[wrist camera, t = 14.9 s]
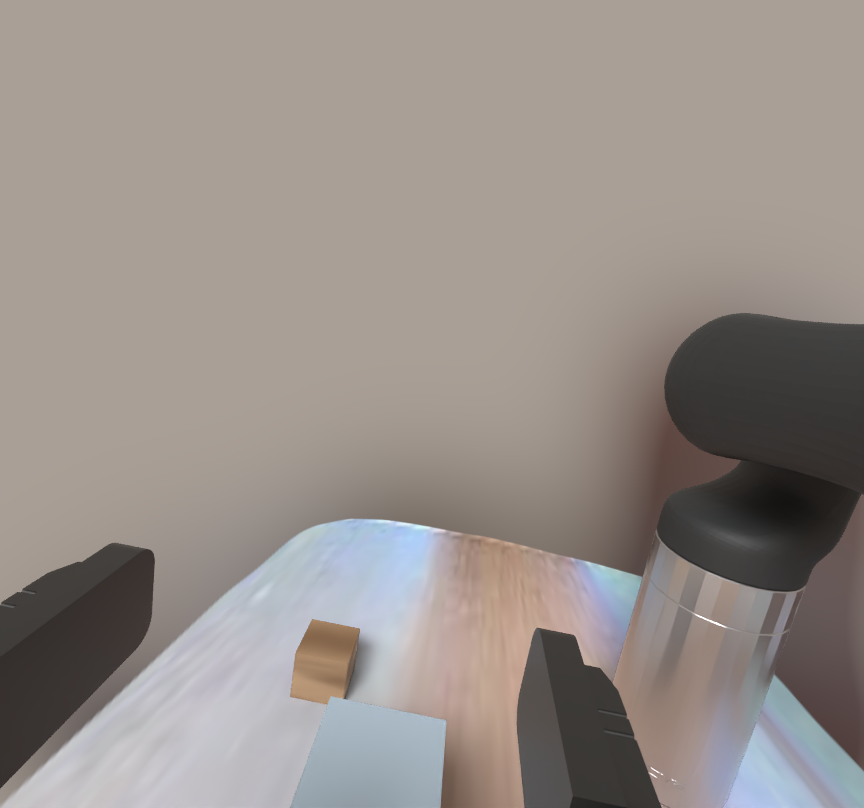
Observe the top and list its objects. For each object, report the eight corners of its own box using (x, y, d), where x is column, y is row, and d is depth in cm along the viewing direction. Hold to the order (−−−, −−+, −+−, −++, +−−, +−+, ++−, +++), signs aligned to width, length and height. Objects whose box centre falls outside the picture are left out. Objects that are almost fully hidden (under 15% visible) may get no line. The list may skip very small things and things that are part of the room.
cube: (307, 660, 42) (312, 619, 42) (353, 670, 42) (360, 628, 41) (290, 697, 39) (295, 652, 38) (341, 708, 38) (348, 663, 38)
